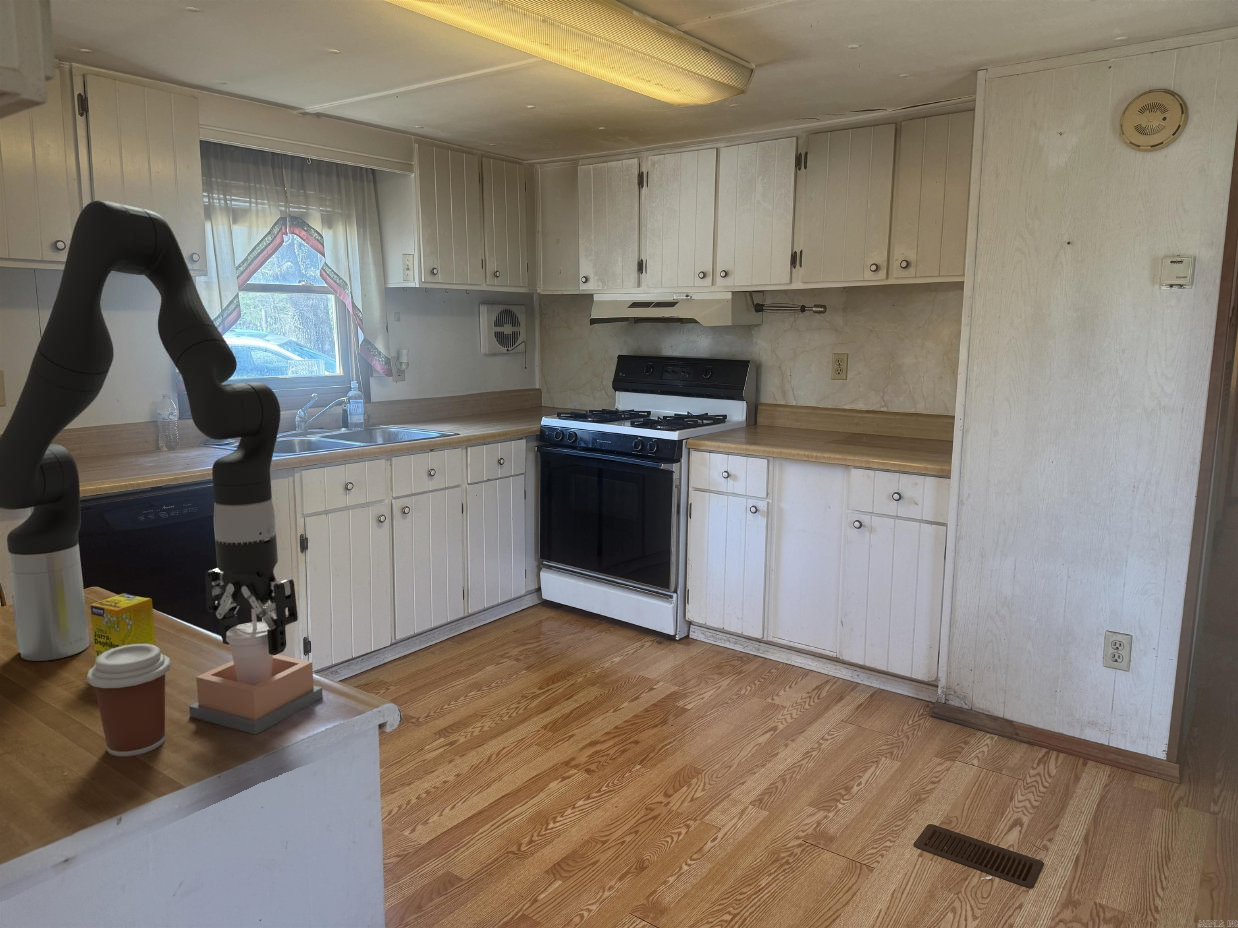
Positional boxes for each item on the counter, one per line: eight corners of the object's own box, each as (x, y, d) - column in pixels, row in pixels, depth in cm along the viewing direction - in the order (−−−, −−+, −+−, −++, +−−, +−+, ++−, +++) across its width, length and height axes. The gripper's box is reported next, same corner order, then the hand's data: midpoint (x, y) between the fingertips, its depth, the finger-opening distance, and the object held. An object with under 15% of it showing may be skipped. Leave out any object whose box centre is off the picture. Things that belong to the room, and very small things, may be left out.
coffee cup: (150, 720, 114) (142, 635, 112) (192, 737, 109) (185, 649, 107) (79, 749, 106) (69, 658, 104) (121, 769, 101) (111, 674, 99)
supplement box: (95, 673, 128) (88, 604, 127) (131, 658, 134) (124, 592, 132) (123, 679, 126) (116, 609, 124) (158, 664, 132) (152, 597, 130)
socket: (190, 716, 115) (186, 677, 114) (260, 682, 126) (257, 646, 125) (255, 734, 110) (252, 694, 109) (322, 697, 121) (320, 660, 120)
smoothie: (262, 708, 114) (255, 608, 112) (220, 703, 115) (212, 605, 113) (290, 688, 120) (284, 593, 118) (249, 684, 122) (242, 590, 119)
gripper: (183, 533, 113) (193, 648, 116) (263, 545, 107) (271, 666, 110) (230, 521, 120) (238, 630, 123) (307, 532, 114) (313, 646, 117)
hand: (253, 647), depth 116 cm, fingers open, 8 cm apart
